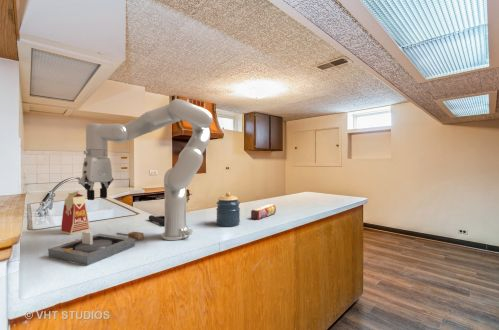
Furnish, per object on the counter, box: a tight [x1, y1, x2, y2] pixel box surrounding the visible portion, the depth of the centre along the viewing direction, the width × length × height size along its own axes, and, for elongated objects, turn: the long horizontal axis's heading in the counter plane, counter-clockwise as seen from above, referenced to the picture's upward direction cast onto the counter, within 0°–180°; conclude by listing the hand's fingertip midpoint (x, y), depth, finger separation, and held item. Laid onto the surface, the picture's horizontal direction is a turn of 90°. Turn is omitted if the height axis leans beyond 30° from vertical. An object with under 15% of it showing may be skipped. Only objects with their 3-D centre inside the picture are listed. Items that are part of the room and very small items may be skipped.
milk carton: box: [60, 190, 91, 236], centre depth 122 cm, size 9×9×20 cm
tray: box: [47, 233, 136, 266], centre depth 95 cm, size 20×20×4 cm
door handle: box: [148, 214, 165, 227], centre depth 143 cm, size 3×20×16 cm
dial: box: [75, 231, 112, 253], centre depth 95 cm, size 12×12×6 cm
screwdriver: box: [116, 231, 145, 241], centre depth 112 cm, size 14×3×3 cm, turn 70°
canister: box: [215, 191, 241, 228], centre depth 137 cm, size 13×13×18 cm
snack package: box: [250, 203, 277, 221], centre depth 156 cm, size 21×7×7 cm, turn 145°
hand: (97, 198), depth 101 cm, fingers open, 4 cm apart
